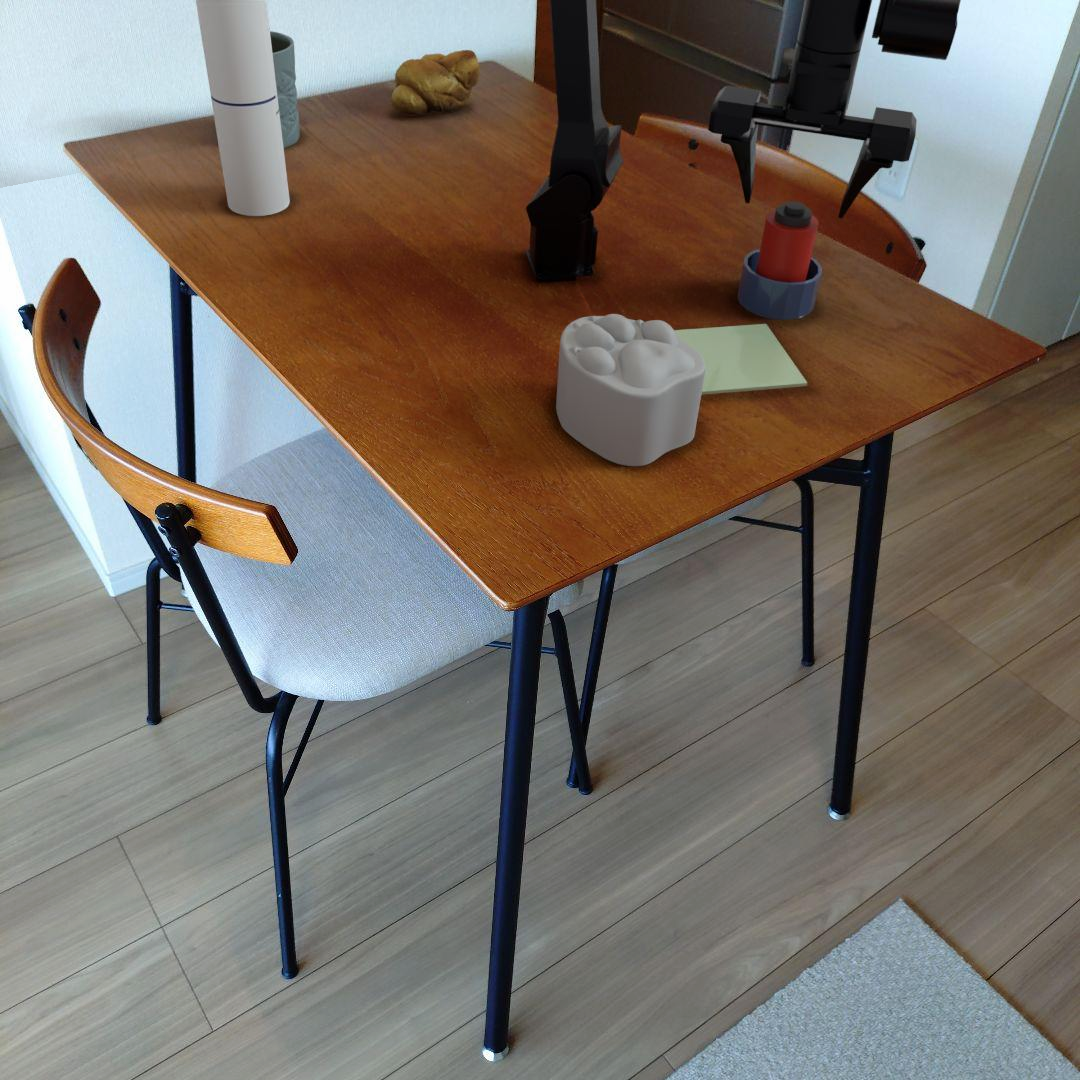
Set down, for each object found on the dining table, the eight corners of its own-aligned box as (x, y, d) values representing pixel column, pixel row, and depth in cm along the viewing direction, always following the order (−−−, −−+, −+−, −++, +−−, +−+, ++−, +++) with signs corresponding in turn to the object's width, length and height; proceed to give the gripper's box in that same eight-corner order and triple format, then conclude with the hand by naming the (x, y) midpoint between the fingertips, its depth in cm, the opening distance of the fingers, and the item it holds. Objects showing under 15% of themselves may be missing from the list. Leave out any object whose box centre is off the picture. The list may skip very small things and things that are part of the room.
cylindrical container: (215, 208, 125) (176, -27, 109) (250, 185, 130) (218, -43, 114) (268, 220, 123) (236, -17, 107) (301, 197, 128) (276, -33, 112)
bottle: (761, 314, 111) (780, 218, 104) (743, 289, 115) (761, 195, 108) (807, 310, 112) (830, 215, 105) (789, 286, 116) (809, 193, 109)
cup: (752, 326, 110) (760, 286, 107) (726, 288, 116) (733, 249, 113) (824, 320, 112) (834, 281, 109) (795, 283, 118) (804, 245, 115)
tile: (695, 399, 100) (696, 392, 99) (661, 337, 108) (662, 330, 107) (806, 389, 102) (807, 382, 101) (764, 330, 110) (766, 323, 109)
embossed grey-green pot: (296, 154, 138) (285, 57, 130) (217, 150, 138) (201, 52, 130) (309, 125, 145) (300, 31, 138) (235, 121, 145) (221, 27, 137)
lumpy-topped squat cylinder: (625, 475, 91) (636, 389, 85) (527, 405, 98) (531, 321, 92) (710, 432, 96) (725, 348, 90) (611, 368, 103) (619, 286, 97)
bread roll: (407, 127, 146) (405, 66, 141) (373, 104, 152) (369, 45, 147) (486, 110, 152) (487, 51, 147) (450, 89, 158) (449, 31, 153)
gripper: (936, 32, 101) (892, 192, 111) (739, 6, 104) (714, 164, 114) (934, 69, 93) (887, 238, 103) (720, 40, 96) (696, 206, 106)
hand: (793, 209), depth 107 cm, fingers open, 9 cm apart
